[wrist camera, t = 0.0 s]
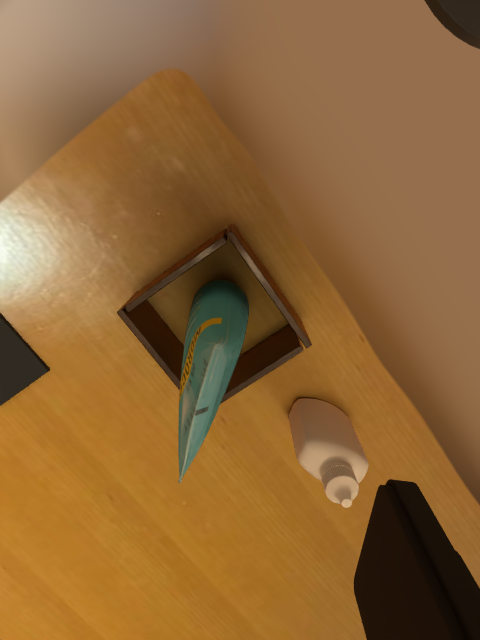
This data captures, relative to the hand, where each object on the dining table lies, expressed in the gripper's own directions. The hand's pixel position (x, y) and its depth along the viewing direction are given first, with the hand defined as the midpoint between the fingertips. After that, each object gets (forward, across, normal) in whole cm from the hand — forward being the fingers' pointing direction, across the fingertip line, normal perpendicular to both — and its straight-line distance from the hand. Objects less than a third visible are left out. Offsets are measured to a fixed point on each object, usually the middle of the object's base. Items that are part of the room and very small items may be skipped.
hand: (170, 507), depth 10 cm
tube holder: (+30, 0, +4) cm, 30 cm away
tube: (+30, 0, +4) cm, 30 cm away
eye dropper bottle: (+30, -10, +13) cm, 34 cm away
